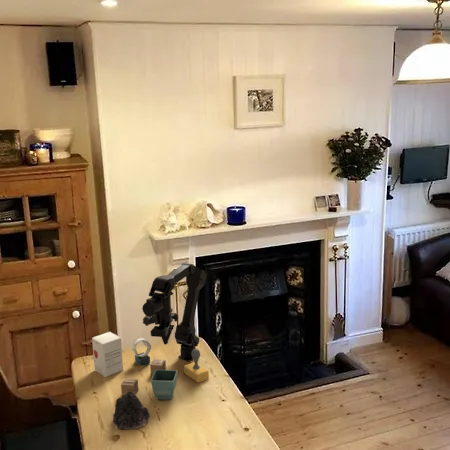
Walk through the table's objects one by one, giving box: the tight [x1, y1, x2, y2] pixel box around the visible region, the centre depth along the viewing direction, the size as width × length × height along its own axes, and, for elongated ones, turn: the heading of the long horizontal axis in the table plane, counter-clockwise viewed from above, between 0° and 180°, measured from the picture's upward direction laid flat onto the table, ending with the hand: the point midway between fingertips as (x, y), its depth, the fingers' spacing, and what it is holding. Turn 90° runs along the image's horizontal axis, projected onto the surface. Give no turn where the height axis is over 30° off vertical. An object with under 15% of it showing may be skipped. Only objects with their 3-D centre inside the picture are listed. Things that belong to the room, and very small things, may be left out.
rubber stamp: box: [183, 348, 210, 383], centre depth 233 cm, size 10×6×12 cm, turn 36°
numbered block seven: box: [149, 358, 167, 377], centre depth 236 cm, size 5×5×5 cm
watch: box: [132, 337, 152, 367], centre depth 245 cm, size 6×8×11 cm
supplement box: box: [91, 331, 124, 378], centre depth 239 cm, size 9×9×15 cm
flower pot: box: [150, 369, 179, 401], centre depth 218 cm, size 9×9×9 cm
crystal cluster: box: [112, 392, 151, 430], centre depth 203 cm, size 13×14×10 cm
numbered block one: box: [120, 377, 140, 397], centre depth 221 cm, size 5×5×5 cm
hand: (165, 344), depth 234 cm, fingers closed
